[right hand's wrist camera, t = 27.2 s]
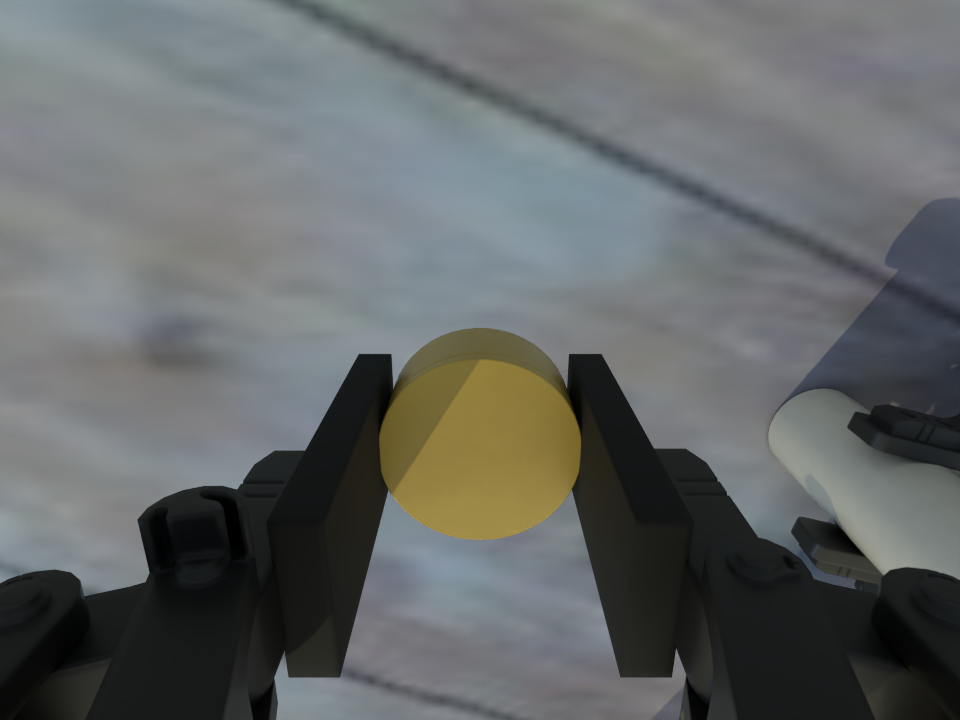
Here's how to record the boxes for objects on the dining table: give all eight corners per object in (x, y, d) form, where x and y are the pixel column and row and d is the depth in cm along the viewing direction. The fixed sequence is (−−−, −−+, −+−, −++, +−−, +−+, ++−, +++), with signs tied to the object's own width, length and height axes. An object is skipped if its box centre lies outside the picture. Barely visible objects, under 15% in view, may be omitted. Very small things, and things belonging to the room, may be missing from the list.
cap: (363, 445, 15) (344, 492, 13) (439, 295, 13) (432, 322, 11) (515, 513, 15) (520, 568, 13) (602, 376, 14) (622, 415, 12)
